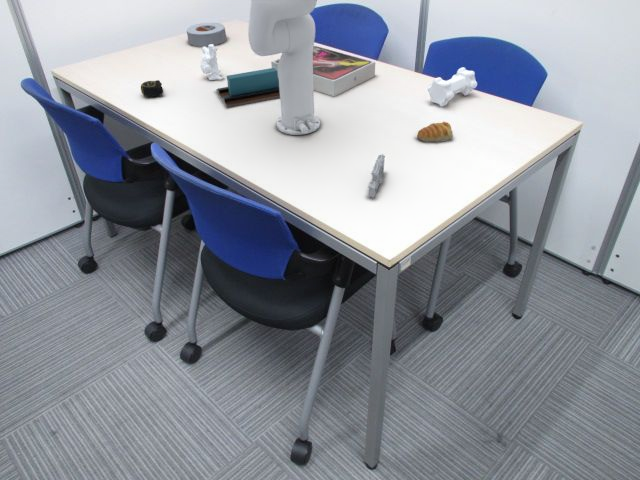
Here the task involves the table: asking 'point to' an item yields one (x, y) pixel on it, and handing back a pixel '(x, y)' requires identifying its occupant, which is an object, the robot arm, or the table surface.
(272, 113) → the table surface
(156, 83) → the tape measure
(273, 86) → the teal bar
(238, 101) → the holder board
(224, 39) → the tape roll
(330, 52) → the product packaging
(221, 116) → the table surface
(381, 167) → the garden wall model
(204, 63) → the white animal statuette
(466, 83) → the bone shaped toy
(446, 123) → the pastry
